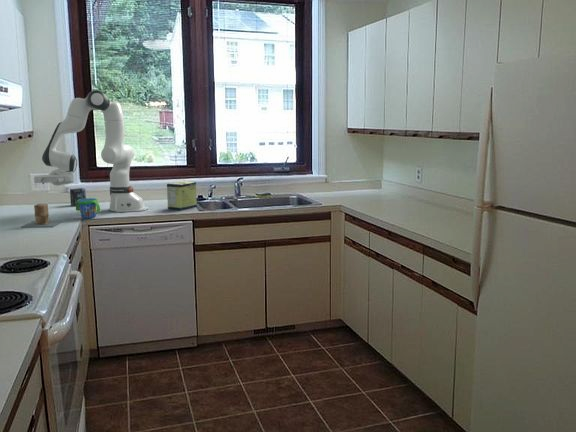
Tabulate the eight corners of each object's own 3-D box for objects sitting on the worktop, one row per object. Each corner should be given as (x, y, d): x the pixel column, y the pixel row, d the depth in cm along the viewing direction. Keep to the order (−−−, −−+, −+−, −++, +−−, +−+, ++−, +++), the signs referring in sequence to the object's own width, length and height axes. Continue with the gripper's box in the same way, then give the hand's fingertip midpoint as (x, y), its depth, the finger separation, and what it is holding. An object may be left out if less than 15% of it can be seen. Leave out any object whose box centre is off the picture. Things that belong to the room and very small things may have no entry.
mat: (62, 221, 302) (62, 220, 302) (53, 227, 288) (53, 226, 288) (32, 222, 301) (32, 221, 301) (21, 227, 288) (21, 226, 287)
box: (74, 206, 350) (73, 189, 348) (70, 205, 354) (69, 189, 352) (86, 205, 355) (85, 188, 353) (82, 204, 359) (81, 187, 357)
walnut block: (49, 222, 297) (47, 203, 295) (45, 224, 292) (43, 205, 290) (39, 222, 297) (37, 204, 295) (35, 224, 292) (34, 205, 290)
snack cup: (71, 217, 313) (69, 199, 312) (86, 214, 322) (85, 197, 321) (90, 220, 306) (89, 202, 304) (105, 217, 315) (104, 199, 313)
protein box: (197, 206, 348) (196, 181, 346) (180, 210, 335) (179, 184, 332) (184, 205, 354) (183, 180, 351) (167, 209, 340) (166, 183, 337)
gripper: (38, 172, 316) (28, 175, 302) (75, 171, 317) (67, 174, 303) (39, 183, 317) (30, 186, 304) (76, 182, 318) (68, 185, 305)
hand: (49, 180), depth 304 cm, fingers open, 8 cm apart
